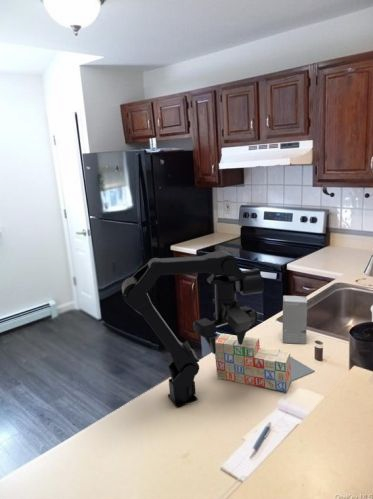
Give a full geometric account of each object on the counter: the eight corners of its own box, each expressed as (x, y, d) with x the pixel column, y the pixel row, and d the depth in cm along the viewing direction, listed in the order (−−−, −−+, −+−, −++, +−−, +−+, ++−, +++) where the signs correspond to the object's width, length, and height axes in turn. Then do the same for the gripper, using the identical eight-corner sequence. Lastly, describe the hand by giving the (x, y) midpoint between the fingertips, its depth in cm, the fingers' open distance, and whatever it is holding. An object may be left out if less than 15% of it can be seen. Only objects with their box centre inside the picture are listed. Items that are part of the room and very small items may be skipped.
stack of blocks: (291, 380, 110) (290, 342, 107) (286, 392, 105) (285, 353, 102) (224, 367, 120) (221, 332, 117) (216, 378, 115) (213, 341, 112)
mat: (279, 386, 108) (279, 385, 108) (245, 363, 122) (245, 362, 122) (314, 371, 114) (314, 370, 114) (279, 350, 128) (279, 349, 128)
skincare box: (282, 343, 133) (282, 301, 129) (282, 334, 140) (281, 294, 136) (307, 344, 131) (307, 302, 127) (306, 335, 138) (306, 294, 134)
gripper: (214, 314, 91) (216, 371, 95) (271, 297, 100) (271, 350, 104) (190, 301, 101) (193, 354, 104) (245, 287, 110) (246, 336, 113)
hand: (227, 348), depth 106 cm, fingers open, 9 cm apart
